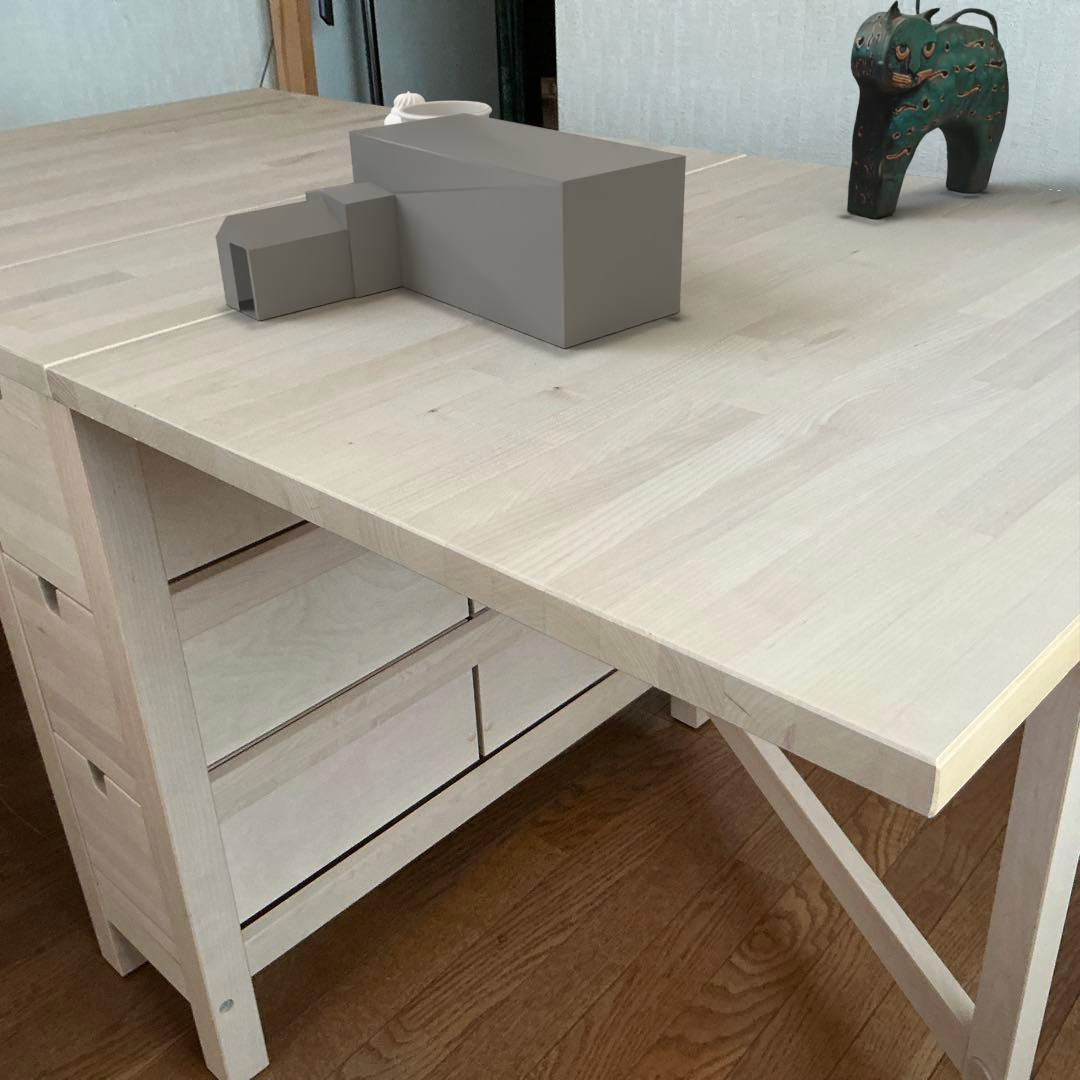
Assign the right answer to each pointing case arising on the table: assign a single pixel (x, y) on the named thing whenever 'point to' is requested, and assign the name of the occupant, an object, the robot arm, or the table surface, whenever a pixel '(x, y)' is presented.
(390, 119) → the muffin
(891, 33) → the ceramic cat
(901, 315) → the table surface
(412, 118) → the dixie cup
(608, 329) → the stepped duct adapter
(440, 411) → the table surface
